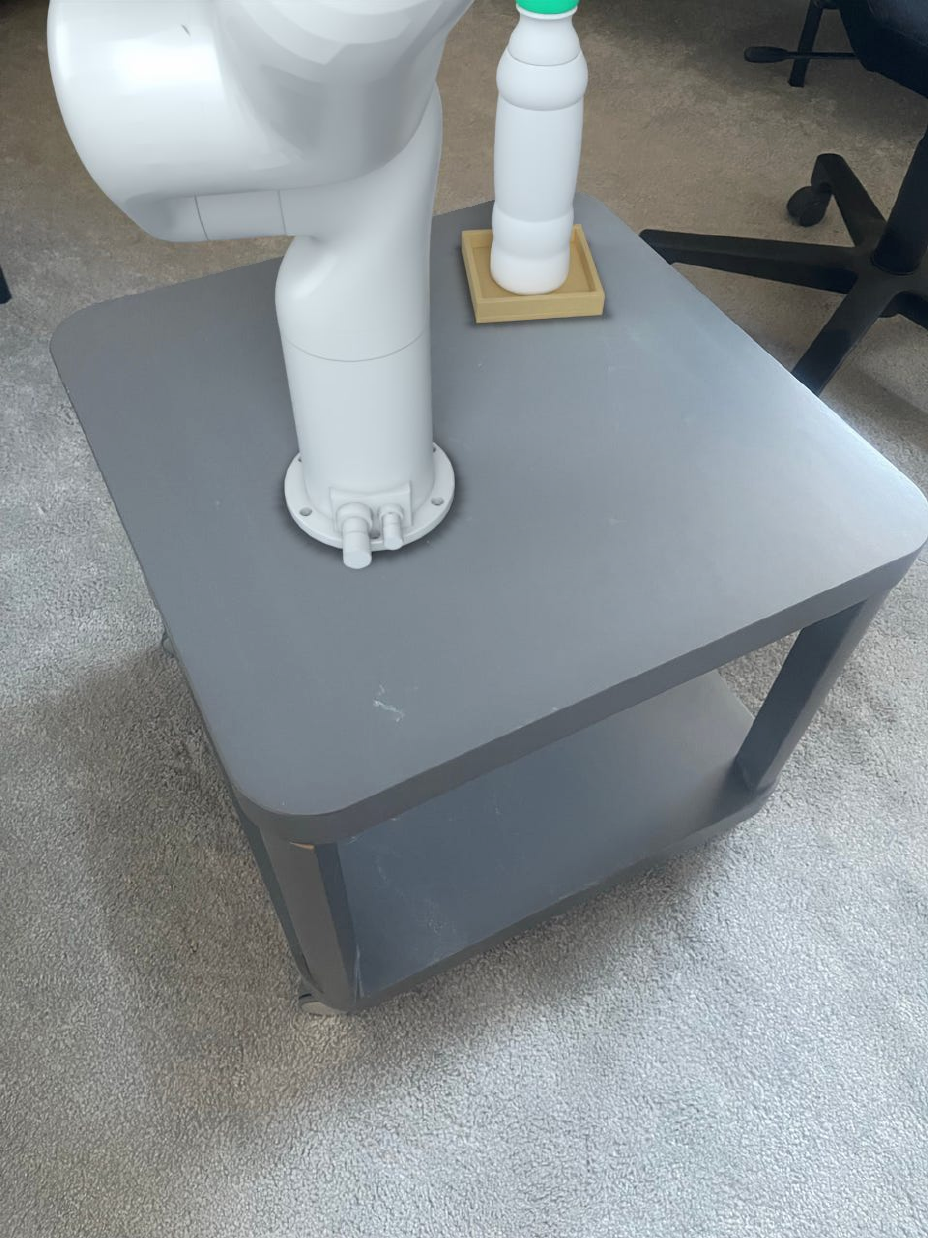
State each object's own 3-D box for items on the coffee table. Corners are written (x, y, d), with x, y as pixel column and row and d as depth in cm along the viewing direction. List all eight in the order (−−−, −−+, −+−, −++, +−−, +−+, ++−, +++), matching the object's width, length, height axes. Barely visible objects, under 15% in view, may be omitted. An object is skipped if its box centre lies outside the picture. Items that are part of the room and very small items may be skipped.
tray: (602, 315, 89) (605, 294, 87) (476, 323, 88) (476, 302, 86) (579, 243, 96) (581, 223, 94) (461, 250, 95) (461, 230, 93)
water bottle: (480, 291, 90) (487, -21, 70) (502, 248, 94) (514, -58, 74) (557, 305, 89) (586, -8, 69) (575, 261, 93) (608, -46, 73)
